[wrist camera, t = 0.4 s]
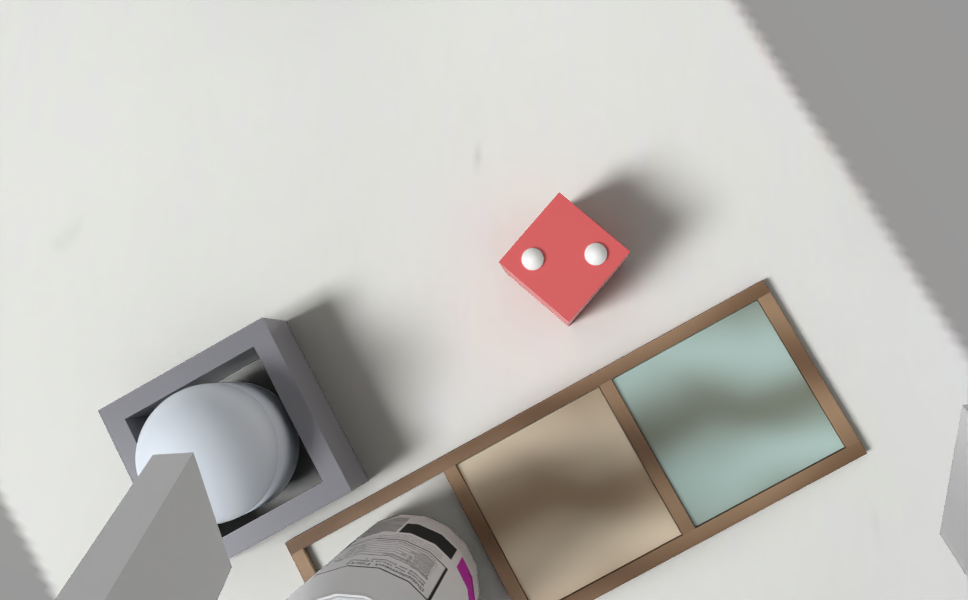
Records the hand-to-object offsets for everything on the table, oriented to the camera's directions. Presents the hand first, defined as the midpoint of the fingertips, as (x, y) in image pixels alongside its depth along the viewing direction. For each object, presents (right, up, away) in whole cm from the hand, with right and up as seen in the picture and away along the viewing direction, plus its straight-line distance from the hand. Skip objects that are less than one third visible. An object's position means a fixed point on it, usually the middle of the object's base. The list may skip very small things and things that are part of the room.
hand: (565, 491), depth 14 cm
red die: (+3, +5, +35) cm, 35 cm away
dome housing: (-16, -5, +36) cm, 39 cm away
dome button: (-16, -5, +34) cm, 38 cm away
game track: (+3, -8, +34) cm, 35 cm away
